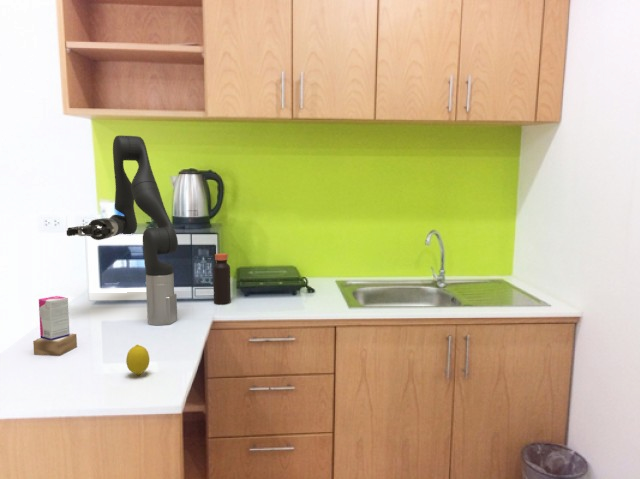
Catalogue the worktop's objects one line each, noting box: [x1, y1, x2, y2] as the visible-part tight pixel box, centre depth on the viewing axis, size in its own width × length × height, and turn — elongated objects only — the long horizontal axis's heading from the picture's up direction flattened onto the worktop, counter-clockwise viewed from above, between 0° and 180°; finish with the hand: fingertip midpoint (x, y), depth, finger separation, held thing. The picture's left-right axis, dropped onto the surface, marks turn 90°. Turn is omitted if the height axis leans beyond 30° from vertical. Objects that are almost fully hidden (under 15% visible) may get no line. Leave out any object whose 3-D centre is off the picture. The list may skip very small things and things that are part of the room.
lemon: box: [125, 344, 150, 376], centre depth 129 cm, size 6×6×8 cm
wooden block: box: [32, 333, 78, 357], centre depth 148 cm, size 8×8×4 cm
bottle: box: [212, 252, 232, 305], centre depth 205 cm, size 7×7×20 cm
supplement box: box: [38, 295, 71, 341], centre depth 147 cm, size 6×6×12 cm
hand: (80, 233), depth 170 cm, fingers open, 8 cm apart
